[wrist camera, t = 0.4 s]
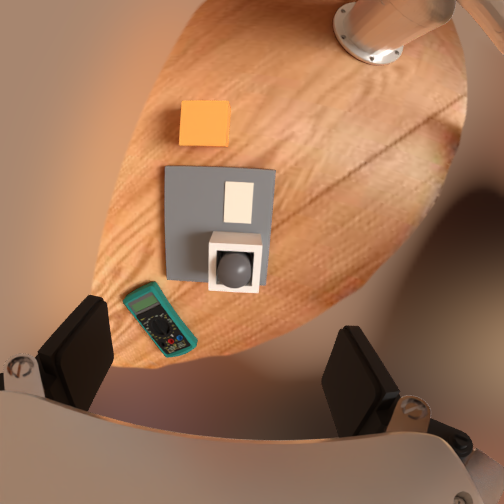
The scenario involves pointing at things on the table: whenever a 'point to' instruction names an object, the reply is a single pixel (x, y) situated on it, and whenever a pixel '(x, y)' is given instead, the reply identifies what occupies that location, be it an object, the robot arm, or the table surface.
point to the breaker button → (234, 269)
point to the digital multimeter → (160, 320)
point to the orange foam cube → (205, 123)
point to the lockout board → (217, 221)
